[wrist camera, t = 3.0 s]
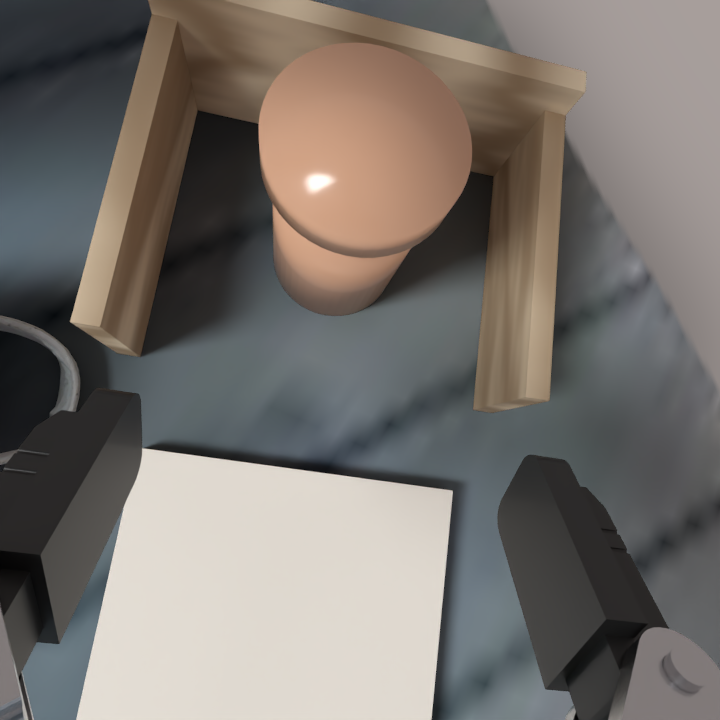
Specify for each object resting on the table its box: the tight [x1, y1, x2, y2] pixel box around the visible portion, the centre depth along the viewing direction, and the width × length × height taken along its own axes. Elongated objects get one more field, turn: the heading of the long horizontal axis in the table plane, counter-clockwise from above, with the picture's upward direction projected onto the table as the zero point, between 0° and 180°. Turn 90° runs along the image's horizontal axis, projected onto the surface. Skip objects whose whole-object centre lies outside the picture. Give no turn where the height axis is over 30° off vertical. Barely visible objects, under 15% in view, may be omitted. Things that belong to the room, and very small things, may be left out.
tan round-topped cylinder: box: [259, 43, 472, 316], centre depth 21 cm, size 7×7×10 cm
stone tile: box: [76, 448, 453, 720], centre depth 21 cm, size 14×14×1 cm
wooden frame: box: [70, 0, 586, 413], centre depth 22 cm, size 18×14×7 cm
